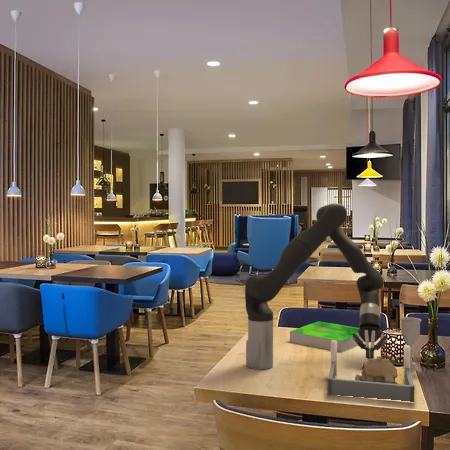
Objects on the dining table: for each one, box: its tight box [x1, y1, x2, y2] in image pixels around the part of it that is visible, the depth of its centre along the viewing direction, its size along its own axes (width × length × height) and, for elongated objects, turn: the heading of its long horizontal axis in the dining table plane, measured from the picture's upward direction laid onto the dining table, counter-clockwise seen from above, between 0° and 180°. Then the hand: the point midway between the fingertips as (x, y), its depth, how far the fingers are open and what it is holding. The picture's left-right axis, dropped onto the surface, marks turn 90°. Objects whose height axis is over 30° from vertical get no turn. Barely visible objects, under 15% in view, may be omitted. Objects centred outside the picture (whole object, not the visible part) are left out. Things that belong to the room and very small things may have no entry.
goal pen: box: [327, 340, 415, 403], centre depth 160 cm, size 20×26×12 cm
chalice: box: [399, 316, 422, 372], centre depth 179 cm, size 7×7×18 cm
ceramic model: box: [354, 355, 398, 384], centre depth 161 cm, size 14×11×10 cm
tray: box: [289, 321, 365, 353], centre depth 217 cm, size 25×25×5 cm
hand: (369, 358), depth 177 cm, fingers closed
